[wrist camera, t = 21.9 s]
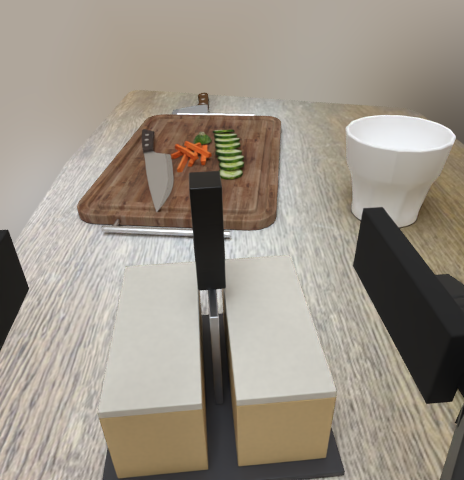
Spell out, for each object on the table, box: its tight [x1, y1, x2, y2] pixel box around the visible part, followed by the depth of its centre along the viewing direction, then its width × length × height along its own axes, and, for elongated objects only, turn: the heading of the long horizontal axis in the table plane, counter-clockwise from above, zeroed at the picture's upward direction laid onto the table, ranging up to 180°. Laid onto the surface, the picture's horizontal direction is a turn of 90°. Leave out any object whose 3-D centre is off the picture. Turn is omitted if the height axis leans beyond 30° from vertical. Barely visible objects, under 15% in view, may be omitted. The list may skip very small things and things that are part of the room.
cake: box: [97, 255, 345, 480], centre depth 33 cm, size 16×16×8 cm
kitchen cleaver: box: [172, 93, 209, 115], centre depth 95 cm, size 24×1×10 cm
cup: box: [346, 115, 456, 228], centre depth 55 cm, size 12×12×11 cm
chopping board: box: [77, 113, 281, 238], centre depth 72 cm, size 45×27×3 cm, turn 174°
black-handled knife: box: [189, 171, 226, 404], centre depth 32 cm, size 8×2×17 cm, turn 5°
